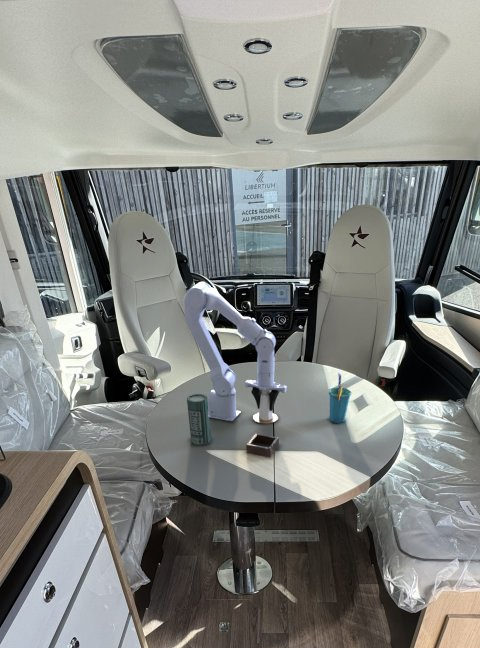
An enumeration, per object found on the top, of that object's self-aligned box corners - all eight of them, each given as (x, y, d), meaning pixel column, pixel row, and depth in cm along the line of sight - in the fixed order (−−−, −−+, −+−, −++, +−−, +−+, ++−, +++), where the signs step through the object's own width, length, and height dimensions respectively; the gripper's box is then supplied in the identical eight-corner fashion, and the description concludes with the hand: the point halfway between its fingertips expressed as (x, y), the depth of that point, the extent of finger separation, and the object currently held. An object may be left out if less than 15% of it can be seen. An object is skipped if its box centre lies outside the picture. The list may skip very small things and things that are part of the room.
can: (213, 437, 146) (210, 395, 137) (205, 446, 142) (201, 402, 133) (196, 434, 148) (192, 392, 139) (188, 443, 143) (183, 400, 134)
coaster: (249, 421, 156) (249, 420, 156) (258, 411, 163) (258, 410, 163) (273, 425, 153) (273, 424, 153) (281, 415, 160) (281, 414, 160)
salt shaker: (255, 415, 159) (255, 386, 153) (269, 413, 161) (269, 384, 154) (261, 421, 155) (261, 392, 149) (275, 419, 157) (276, 389, 150)
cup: (324, 410, 164) (327, 370, 155) (345, 410, 164) (349, 371, 155) (327, 427, 152) (332, 386, 144) (350, 427, 152) (355, 386, 143)
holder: (246, 453, 138) (246, 444, 137) (255, 441, 144) (255, 433, 143) (270, 457, 136) (270, 449, 134) (278, 445, 142) (279, 437, 140)
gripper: (241, 372, 147) (242, 410, 155) (282, 378, 143) (281, 416, 151) (249, 365, 152) (249, 402, 160) (289, 371, 148) (287, 408, 156)
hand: (265, 408), depth 156 cm, fingers closed on salt shaker, 4 cm apart
